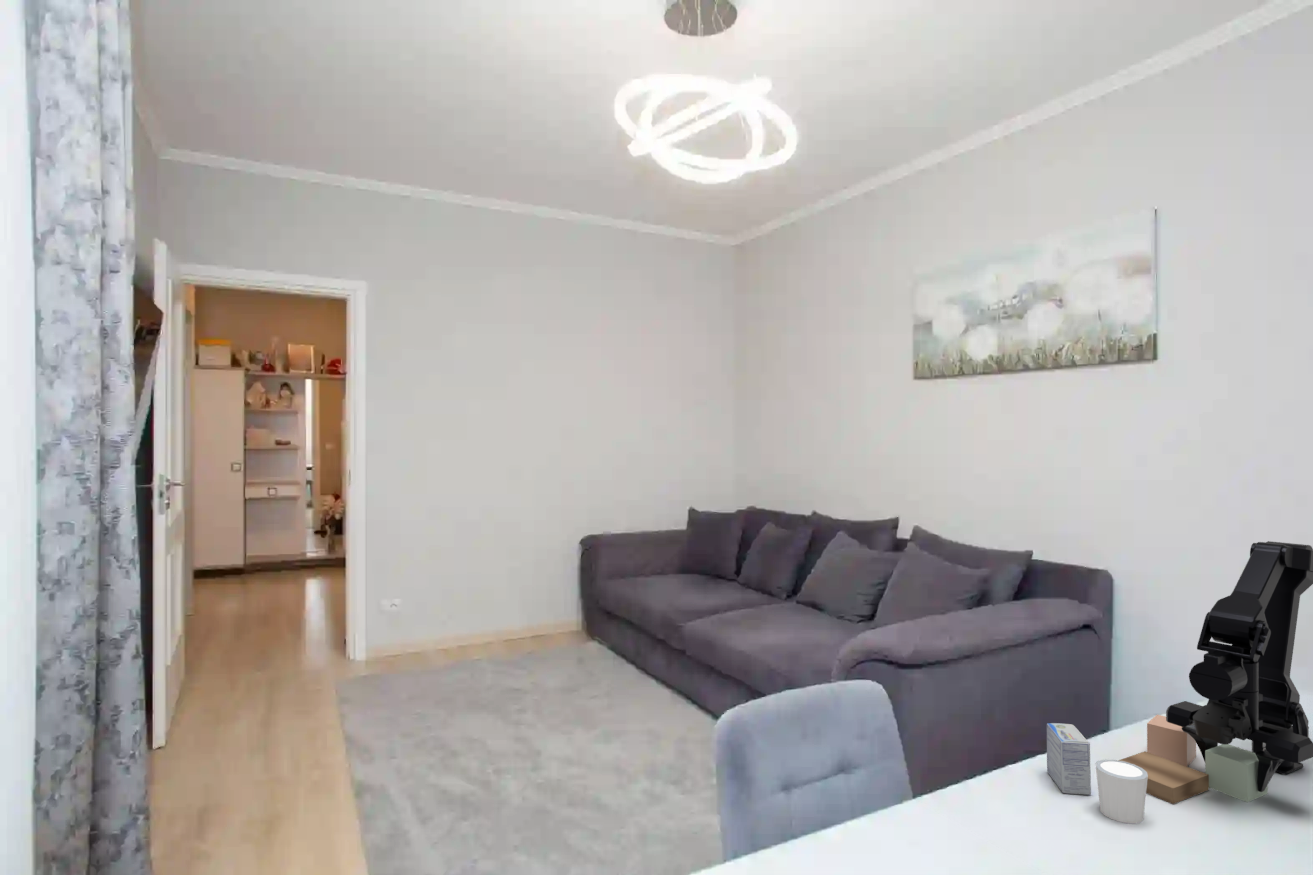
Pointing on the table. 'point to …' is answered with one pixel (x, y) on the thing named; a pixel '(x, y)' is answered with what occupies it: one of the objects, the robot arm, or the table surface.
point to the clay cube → (1170, 741)
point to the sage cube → (1233, 772)
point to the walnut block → (1169, 778)
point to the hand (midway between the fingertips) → (1236, 782)
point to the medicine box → (1068, 758)
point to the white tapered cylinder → (1121, 790)
